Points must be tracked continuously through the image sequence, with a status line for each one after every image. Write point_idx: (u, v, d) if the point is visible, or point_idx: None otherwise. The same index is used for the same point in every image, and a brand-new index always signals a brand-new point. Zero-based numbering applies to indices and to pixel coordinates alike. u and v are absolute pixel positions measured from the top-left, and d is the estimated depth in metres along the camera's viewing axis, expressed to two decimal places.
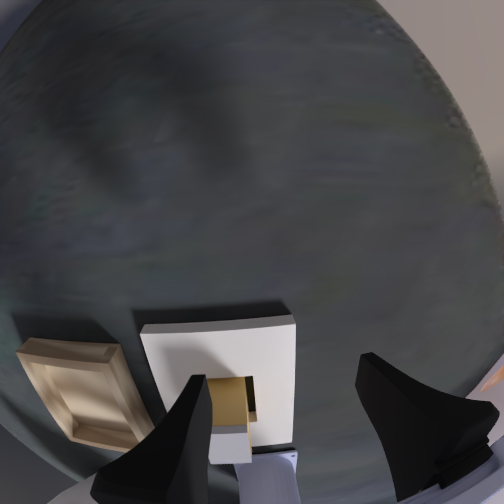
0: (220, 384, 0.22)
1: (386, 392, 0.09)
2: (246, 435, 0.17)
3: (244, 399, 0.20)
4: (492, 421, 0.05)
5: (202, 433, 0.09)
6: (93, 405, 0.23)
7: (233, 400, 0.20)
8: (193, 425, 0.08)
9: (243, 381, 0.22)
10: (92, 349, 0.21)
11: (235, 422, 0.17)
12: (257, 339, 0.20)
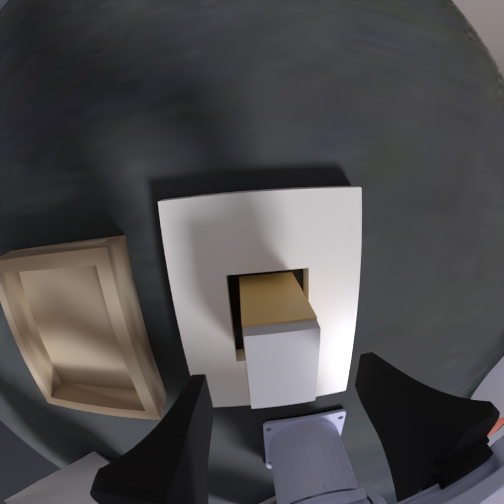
0: (263, 283, 0.17)
1: (386, 392, 0.09)
2: (318, 334, 0.12)
3: (302, 294, 0.15)
4: (492, 421, 0.05)
5: (202, 433, 0.09)
6: (80, 346, 0.19)
7: (286, 295, 0.15)
8: (193, 425, 0.08)
9: (295, 279, 0.17)
10: (87, 242, 0.16)
11: (298, 317, 0.13)
12: (316, 206, 0.16)
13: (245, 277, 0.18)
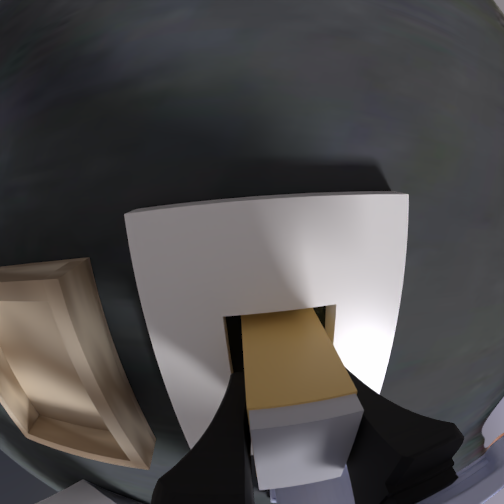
0: (274, 327, 0.12)
1: None
2: (359, 418, 0.07)
3: (331, 346, 0.10)
4: (454, 445, 0.05)
5: (248, 431, 0.09)
6: (52, 384, 0.14)
7: (309, 350, 0.10)
8: (244, 423, 0.08)
9: (317, 319, 0.12)
10: (42, 267, 0.11)
11: (330, 392, 0.08)
12: (351, 220, 0.11)
13: (248, 314, 0.13)
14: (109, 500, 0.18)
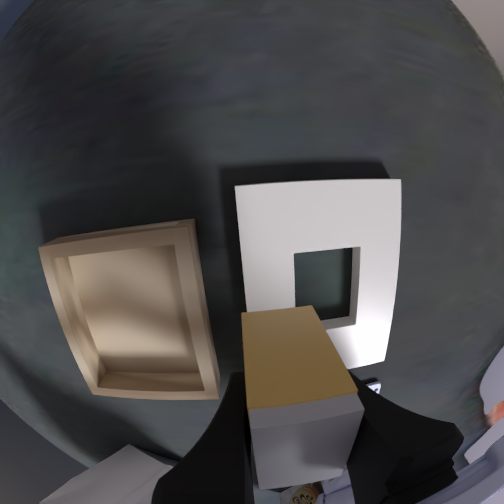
0: (275, 326, 0.12)
1: None
2: (359, 417, 0.07)
3: (332, 346, 0.10)
4: (454, 445, 0.05)
5: (248, 431, 0.09)
6: (134, 332, 0.21)
7: (309, 349, 0.10)
8: (244, 423, 0.08)
9: (318, 318, 0.12)
10: (156, 225, 0.18)
11: (330, 391, 0.08)
12: (367, 194, 0.18)
13: (249, 313, 0.13)
14: (156, 461, 0.25)
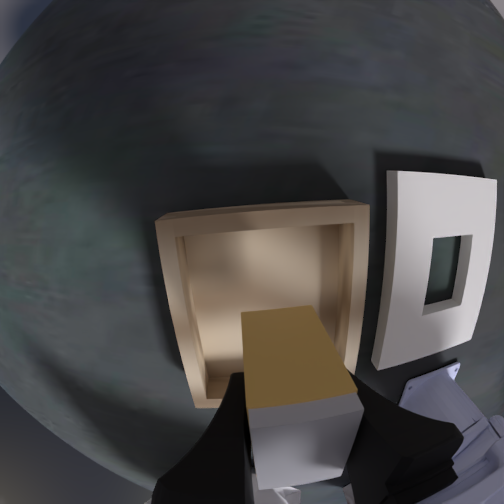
0: (274, 326, 0.12)
1: None
2: (359, 417, 0.07)
3: (331, 345, 0.10)
4: (454, 445, 0.05)
5: (248, 431, 0.09)
6: None
7: (309, 348, 0.10)
8: (244, 423, 0.08)
9: (317, 318, 0.12)
10: (319, 202, 0.17)
11: (330, 390, 0.08)
12: (479, 190, 0.16)
13: (248, 313, 0.13)
14: None
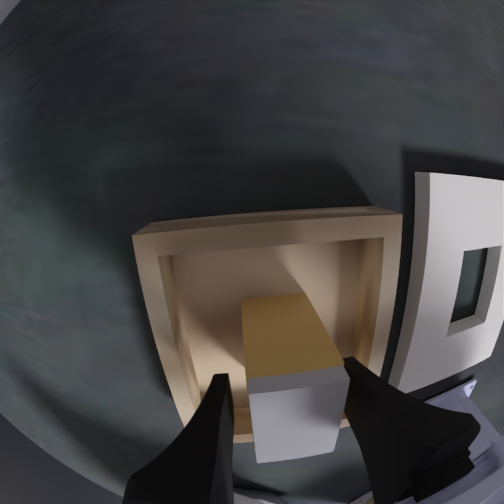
0: (271, 310, 0.13)
1: (364, 398, 0.09)
2: (346, 387, 0.08)
3: (322, 326, 0.11)
4: (472, 434, 0.05)
5: (228, 432, 0.09)
6: None
7: (302, 329, 0.11)
8: (222, 425, 0.08)
9: (310, 303, 0.14)
10: (340, 210, 0.13)
11: (320, 363, 0.09)
12: None
13: (248, 300, 0.15)
14: (240, 496, 0.20)
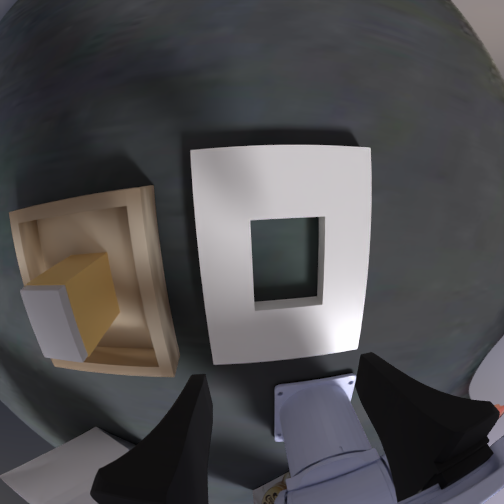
0: (75, 260, 0.17)
1: (386, 392, 0.09)
2: (58, 296, 0.12)
3: (83, 267, 0.15)
4: (492, 421, 0.05)
5: (202, 433, 0.09)
6: None
7: (73, 268, 0.15)
8: (193, 425, 0.08)
9: (99, 257, 0.17)
10: (115, 190, 0.17)
11: (56, 282, 0.13)
12: (332, 160, 0.17)
13: (73, 255, 0.18)
14: (120, 445, 0.24)
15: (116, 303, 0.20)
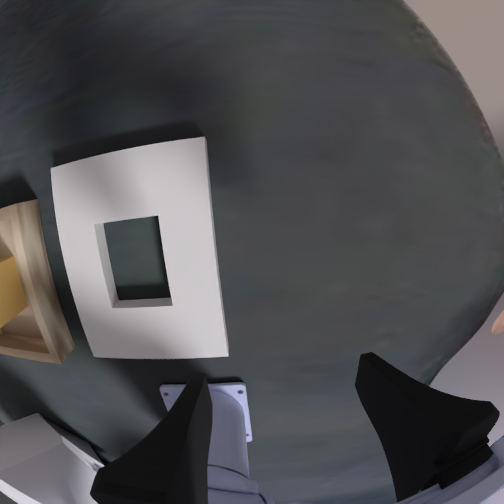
0: None
1: (386, 392, 0.09)
2: None
3: None
4: (492, 421, 0.05)
5: (202, 433, 0.09)
6: None
7: None
8: (193, 425, 0.08)
9: (5, 260, 0.17)
10: None
11: None
12: (161, 158, 0.17)
13: None
14: (53, 430, 0.23)
15: (23, 298, 0.19)
